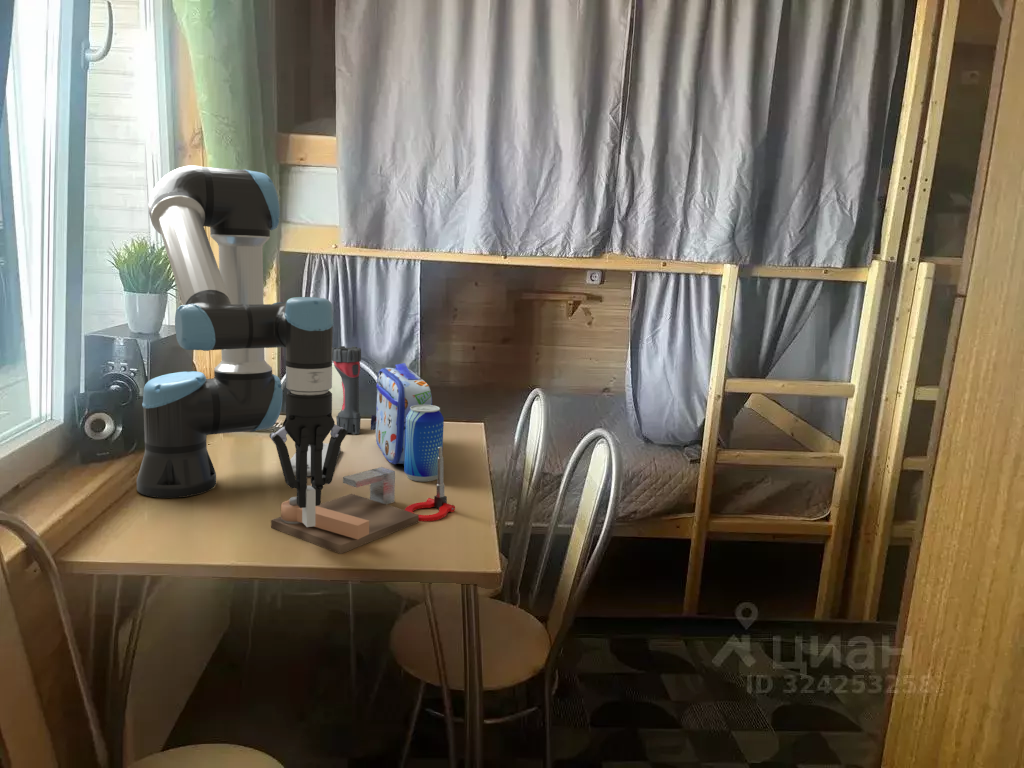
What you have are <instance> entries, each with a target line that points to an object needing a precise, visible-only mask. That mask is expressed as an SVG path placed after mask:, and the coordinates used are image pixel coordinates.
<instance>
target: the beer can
mask: <svg viewBox="0 0 1024 768" xmlns="http://www.w3.org/2000/svg"><path fill="white" fill-rule="evenodd" d="M410 409H411V410H410V411H409V413H408V414H407V416H406V427H405V460H404V464H403V466H404V468H403V469H404V470H403V472H404V474H405V475H406V477H407V478H408V479H409V480H412V481H414V482H421V483H422V482H424V483H425V482H432V481H436V480H438V457H439V447H442V453H443V449H444V448H443V447H444V446H443V445H444V424H445V423H444V421H445V418H444V416H443V414H442V412H441V407H440V406H437V405H433V404H432V405H414V406H411V407H410Z"/></svg>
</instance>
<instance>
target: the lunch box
mask: <svg viewBox="0 0 1024 768" xmlns="http://www.w3.org/2000/svg"><path fill="white" fill-rule="evenodd" d="M394 366H395V367H384V368H381V369H380V370H379V371H378V374H377V378H376V385H375V386H376V413H375V414H372V415H371V416H370V417H371V418H370V431H375V442H376V445H377V446H378V448H379V449H380V451H381V453H382V455H383V456H384V457H385V459H386V461H388V462H389V463H390V464H393V465H397V464H401V465H404V460H405V427H406V416H407V414H408V413H409V411H410V410H411V409H410V407H411V406H414V405H433V397H432V391H431V387H430V385H429V384H428V383H427V382H426V381H425V380H424V379H422V378H421V377H420V376H419V375H418V374H416V372H414V371H413V370H411V368H408V366H407V364H406V362H403V363H398V364H395V365H394Z"/></svg>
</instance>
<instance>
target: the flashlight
mask: <svg viewBox="0 0 1024 768" xmlns="http://www.w3.org/2000/svg"><path fill="white" fill-rule="evenodd" d="M361 361H362V349H361V348H360V347H357V346H355V345H354V346H351V347H346V346H345V345H344V346H342V345H341V346H339V347H336V346H334V347H332V363H333V365H334V368H335V369H336V371H337V374H339V376H340V378H341V387H342V397H343V398H342V399H343V403H342V407H341V410H340V412H338V413H337V415H336V417H335V418H336V425H337V426H341V427H342V428H344V429H345V430H347V435H348V434H351V435H355V434H357V435H359V434H361V433H360V431H361V417H362V416H361V413H360V411H359V410H360V409H359V406H360V382H359V381H360V379H359V378H360V373H361Z"/></svg>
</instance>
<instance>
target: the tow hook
mask: <svg viewBox="0 0 1024 768" xmlns="http://www.w3.org/2000/svg"><path fill="white" fill-rule="evenodd" d="M430 508H435V509H438V512H436V513H433V514H419V513H417V514H418V515H419V522H432V521H433V522H434V521H438V520H441V519H443V518H445V517H446V516H447V515H448V513H454V512H455V510H456V506H455V505H453V504H450V503H448V497H447V496H446V495H445V483H444V457H443V452H442V447H439V457H438V478H437V483H436V495H434V497H433V498H432V497H431V498H430V497H428V498H427V499H426V500H425V501H421V502H415V503H411V504H409V505H407V506H406V507H405V508H404V510H405V511H408V512H412V513H414V511H416V510H420V509H430Z"/></svg>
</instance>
